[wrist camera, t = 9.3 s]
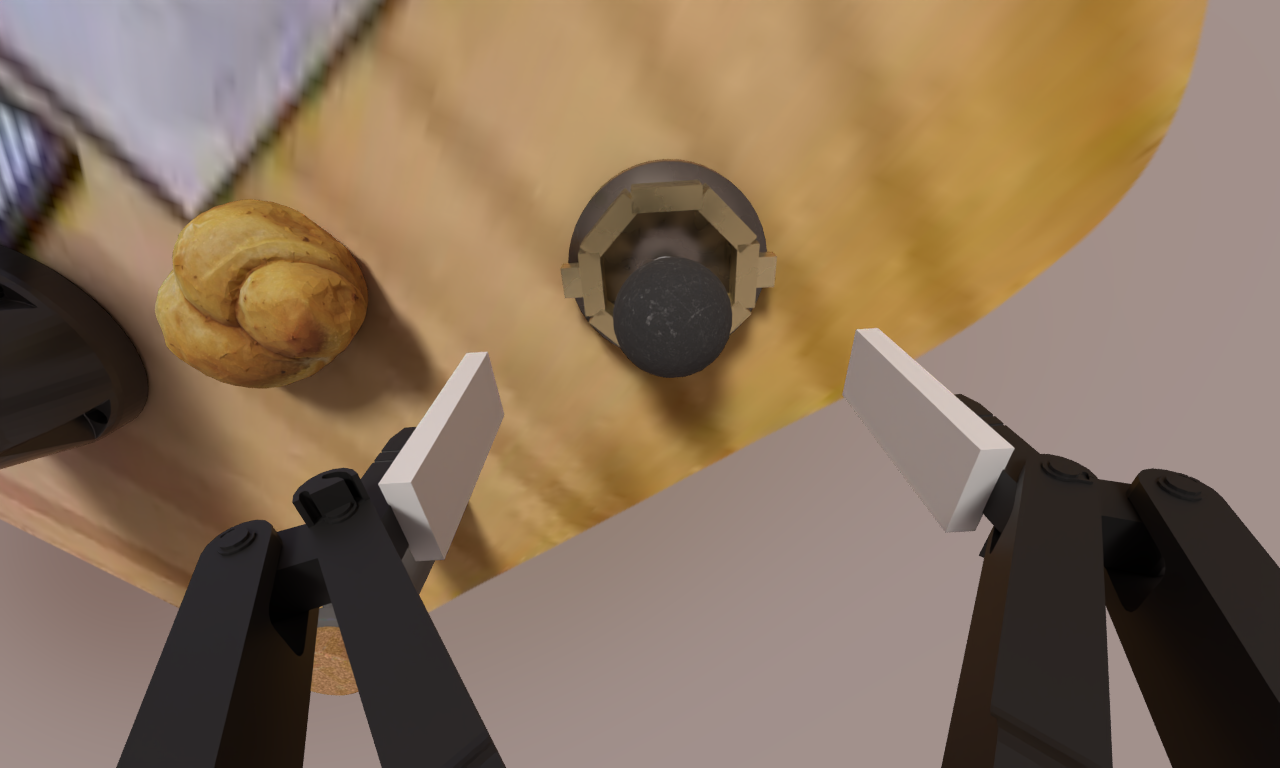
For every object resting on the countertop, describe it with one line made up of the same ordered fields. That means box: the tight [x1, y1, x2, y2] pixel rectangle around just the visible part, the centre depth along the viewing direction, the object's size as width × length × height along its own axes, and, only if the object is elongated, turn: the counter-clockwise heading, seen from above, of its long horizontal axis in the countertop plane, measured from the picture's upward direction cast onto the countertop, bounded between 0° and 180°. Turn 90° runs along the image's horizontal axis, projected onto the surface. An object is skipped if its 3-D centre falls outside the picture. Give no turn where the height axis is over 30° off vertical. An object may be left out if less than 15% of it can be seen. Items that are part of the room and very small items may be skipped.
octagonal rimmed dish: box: [561, 159, 777, 348], centre depth 27 cm, size 12×12×4 cm
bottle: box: [311, 547, 435, 695], centre depth 32 cm, size 6×6×15 cm
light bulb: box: [613, 257, 732, 378], centre depth 23 cm, size 6×6×10 cm
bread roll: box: [155, 199, 368, 388], centre depth 26 cm, size 13×10×8 cm
